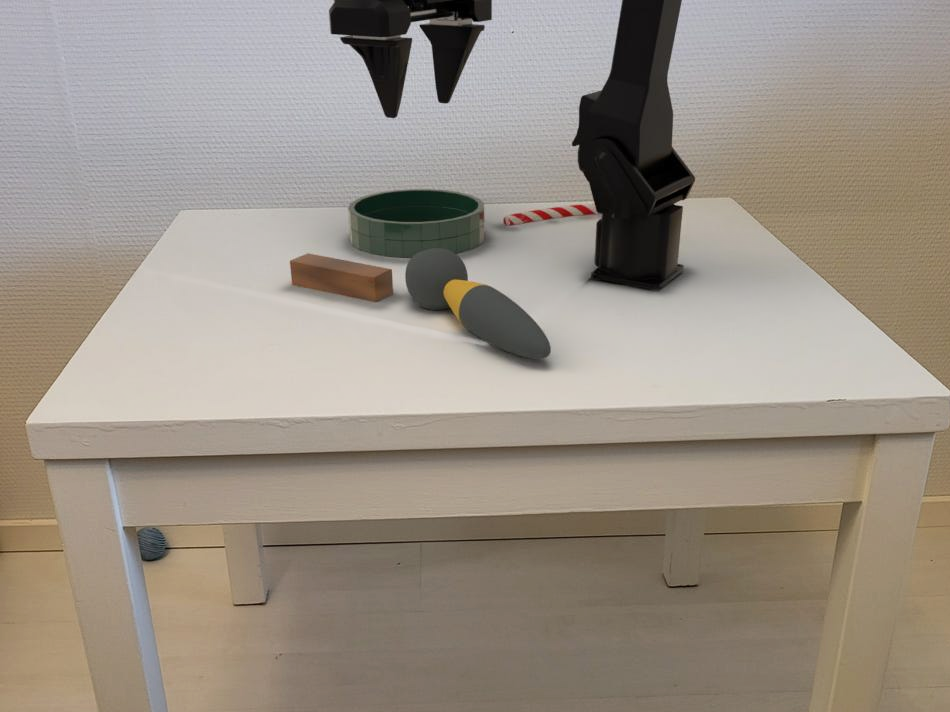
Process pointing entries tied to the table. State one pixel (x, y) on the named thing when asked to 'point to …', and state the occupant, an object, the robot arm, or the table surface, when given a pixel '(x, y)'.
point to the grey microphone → (473, 303)
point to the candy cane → (549, 213)
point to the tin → (416, 222)
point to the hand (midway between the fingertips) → (418, 110)
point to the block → (342, 277)
